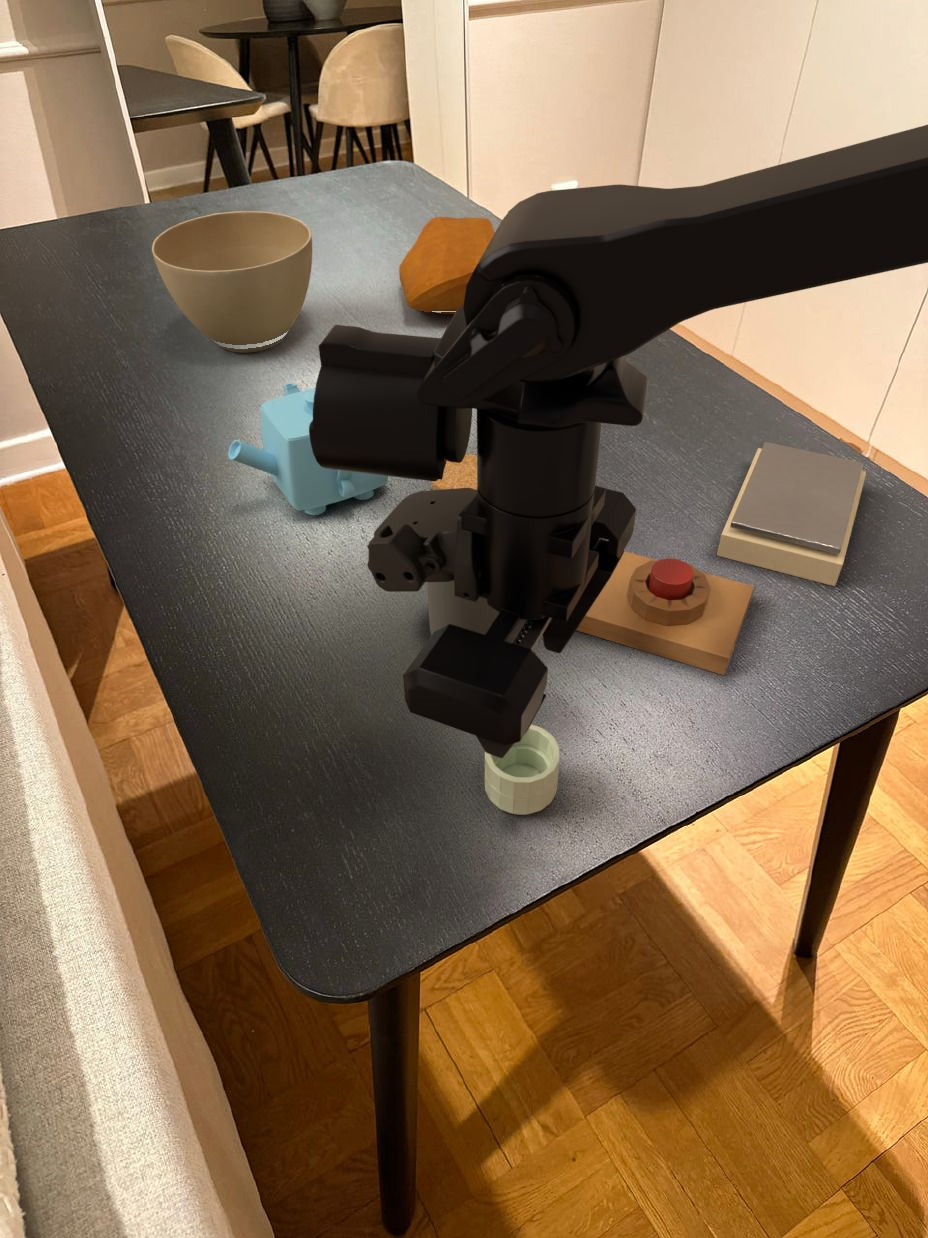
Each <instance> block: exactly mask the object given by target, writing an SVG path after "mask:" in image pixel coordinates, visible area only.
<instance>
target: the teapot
mask: <svg viewBox="0 0 928 1238" xmlns="http://www.w3.org/2000/svg"><path fill="white" fill-rule="evenodd" d="M282 387H283V392H284V395H283V396H279V397H277V398H273V399H271V400H267V401H264V402H263V403H261V405H260V436H261V446H262V449H261V448H259V447H256V446H254V445H251V444H249V443H247V442H245V441H243V440H240V439H235V440H233V442H232V443H231V444H230V446H229V448H228V451H227V452H228V453H227V456H228V458H229V459H230V460H232V461H234V462H237V463H240V464H243V465H246V466H248V467H250V468H254V469H255V470H258V471H261V472H264V473H267V474H270V476H271V478H272V479H273V481H274V483H275V484H276V486H277V487H278V489H279V490H280V491H281V493H282V494H283V496H284V497H285V498H286V500H287V501H288V503H289V504H290V505H291V506H292V508H293V509H294V510H296V511H299V512H300V511H304V512H305V513H306V514H307V515H309V516H318V515H321V514H323V513H324V512H325V511H326V510H327V506H328V505H331V504H335V503H339V502H341V501H345V500H348V499H351V498H354V499H356V500H360V501H365V500H369V499H371V498H372V497H373V496H374V495H375V493H374V490H376V489H378V488H380V487H383V486H385V485H386V484H388V482H389V481H388V479H389V476H384V475H376V474H367V473H359V472H350V471H342V470H334V469H326V468H323V467H321V466H320V465H319V464H318V462H317V461H316V459H315V456H314V454H313V451H312V447H311V442H310V435H309V426H310V423H311V422H312V420H313V403H314V394H315V388H316V387H312V388H309V389H304V390H300V389H299V388H298V385H297V384H296V383H295V382H288V383H286V384H282Z"/></svg>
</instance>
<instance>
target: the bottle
mask: <svg viewBox="0 0 928 1238" xmlns="http://www.w3.org/2000/svg"><path fill="white" fill-rule="evenodd" d="M430 483H431V486H430V488H429V490H442V489H455V488H472V489H474V490H477V454H472V453H471V454H470V453H466V454H465V457H464V459H463V460H462V462H460V463H456V462H449V461H447V462H446V465H445V468H444V474H443V478H442V480H440V479H438V480H437V481H435V482H434V481H430ZM426 587H427V588H426V590H427V605H428V606H427V607H428V621H429V632H430V636H431V635H432V634H433V633H434V632H435V631H437V630H439V629H441V628H443V627H445V626H447V625H448V624H452V625H455V626H458V627H461V628H464V629H468V630H471V631H474V632H477V633H480V634H484V635H485V634H486V633H487V631H488V630H489V628H490V627H491V625H492V624H493V622H494V620H495V619H496V617H497V616H498V614H499V613H500V612H498V611H496V610H495V609H493V608H492V607H491V606H489V605H488V604H487V599H486V598H483V597H479V598H478V600H477V601H476V602H474V601H470V600H467V599H464V598H461V597H457V596H455V588H454V580H453V581H449V582H426Z"/></svg>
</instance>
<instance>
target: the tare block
mask: <svg viewBox="0 0 928 1238" xmlns="http://www.w3.org/2000/svg"><path fill="white" fill-rule="evenodd" d="M659 560H660V559H656V558H655V559H654V558H651V557H648V556H643V555H639V554H635V553H632V552H630V551H629V552H628V551H625V550H624V553H623V555H622V557H621V559H620V561H619V563H618V565H617V566H616V568H615V570H614V572H613V574H612V576H611V577H610V579H609V580H608V582H607V583H606V585H605V587H604V588H603V590H602V591H601V593H600V594H599V596H598V597H597V599H596V600H595V602H594V603H593V605H592V606H591V608H590V609H589V611H588V612H587V614H586V615H585V617H584V619H583V620H582V622H581V623H580V625H579V626H578V628H577V629H576V631H577V632H580V633H583V634H587V635H589V636H590V635H591V636H593V637H597V638H599V639H604V640H606V641H609V642H613V643H616V644H619V645H622V646H626V647H630V648H632V649H636V650H640V651H643V652H646V653H650V654H653V655H656V656H659V657H662V658H665V659H669V660H673V661H675V662H679V663H682V664H686V665H689V666H692V667H695V668H699V669H701V670H705V671H709V672H712V673H716V674H719V675H722V676H725V675H726V673H727V670H728V668H729V664H730V661H731V659H732V657H733V653H734V651H735V648H736V644H737V642H738V639H739V636H740V633H741V630H742V628H743V625H744V622H745V620H746V616H747V613H748V611H749V608H750V605H751V601H752V598H753V594H754V591H755V588H756V587H755V585H752V584H748V583H744V582H740V581H736V580H733V579H729V578H727V577H726V578H725V577H722V576H719V575H716V574H715V575H714V574H711V573H707V572H703V571H700V570H698V569H697V568H696V567H694V566H693V565H692V564H689V563H687V564H688V565H689V566H690V567H691V568H692V570H693V579H692V584H691V589H690V593H689V594H688V596H687V597H685V598H684V599H682V600H666V599H663V598H659V597H656V596H655V595H654V594H652V592H651V591H650V589H649V581H650V575H651V569H652V566H653V565H654V563H655V562H657V561H659Z"/></svg>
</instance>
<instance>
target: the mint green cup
mask: <svg viewBox="0 0 928 1238" xmlns="http://www.w3.org/2000/svg"><path fill="white" fill-rule="evenodd" d="M560 761H561V753H560V746H559V744H558V742H557V741H556V738H555V737H554V735H552V734H551V733H550V732H548V731H547V730H546V729H545V728H543V727H540V726H537V725H536V724H535V725H534V724H533V723H532V724H531V726H530V728H529V729H528V731H527V732H526V734H524V736H523V737H522V739H521V741H520V742H516V743H515V744H514V745H513V746H512V747H511V749H510V750H509V751H508V752H507V754H506V755H505V756H504V758H499V757H496V756H493V755H490V754H488V753H486V752H485V751H484V790H485V792H486V795H487V797H488V799H489V801H490V802H492V803H493V805H494V806H496V807H497V808H498V809H500V810H501V811H504V812H506V813H509V814H512V815H517V816H527V815H532V814H534V813H538V812H540V811H542V810H543V809H545V808H546V807H547V806H549V805H550V804H551V803H552V802H553V800H554V798H555V796H556V794H557V791H558V783H559V771H560Z"/></svg>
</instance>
